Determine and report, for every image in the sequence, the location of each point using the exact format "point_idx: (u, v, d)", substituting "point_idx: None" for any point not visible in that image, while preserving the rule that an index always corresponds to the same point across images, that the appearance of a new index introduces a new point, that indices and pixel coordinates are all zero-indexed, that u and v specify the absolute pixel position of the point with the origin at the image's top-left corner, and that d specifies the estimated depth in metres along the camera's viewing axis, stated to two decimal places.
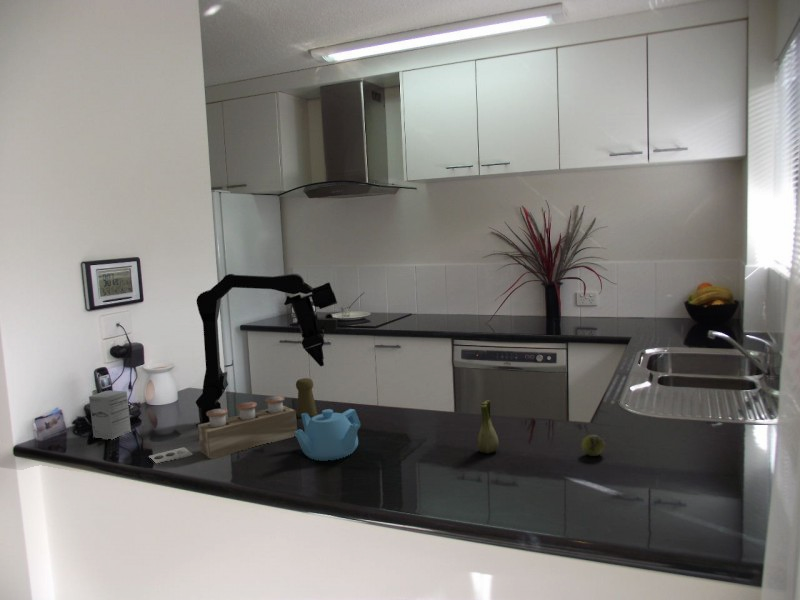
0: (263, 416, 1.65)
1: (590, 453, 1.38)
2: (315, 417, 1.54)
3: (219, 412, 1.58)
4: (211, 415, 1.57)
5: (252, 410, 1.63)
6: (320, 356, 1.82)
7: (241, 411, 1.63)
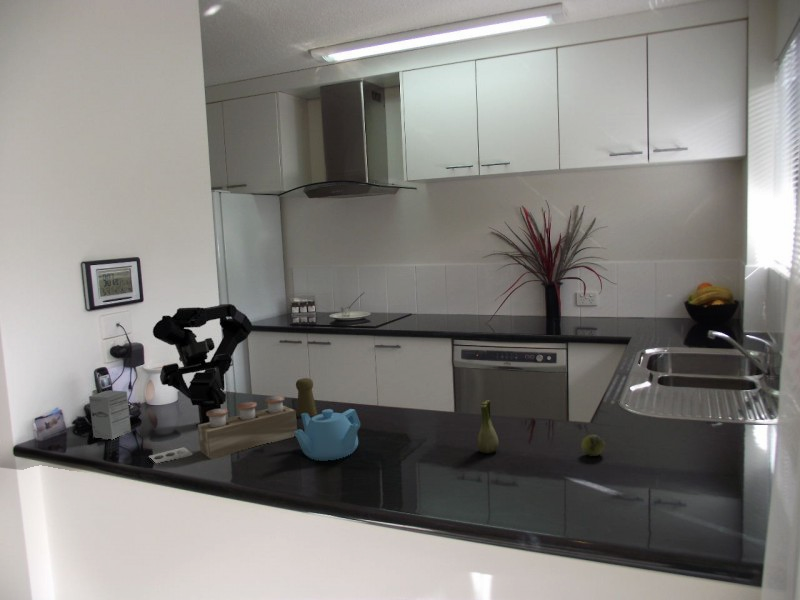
0: (263, 416, 1.65)
1: (590, 453, 1.38)
2: (315, 417, 1.54)
3: (219, 412, 1.58)
4: (211, 415, 1.57)
5: (252, 410, 1.63)
6: (182, 387, 1.64)
7: (241, 411, 1.63)
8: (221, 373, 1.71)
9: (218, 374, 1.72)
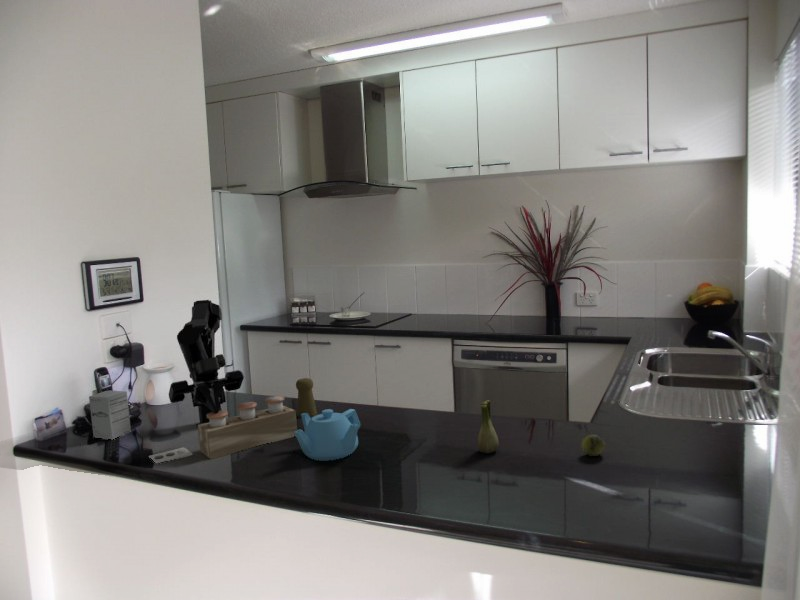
0: (263, 416, 1.65)
1: (590, 453, 1.38)
2: (315, 417, 1.54)
3: (219, 414, 1.58)
4: (211, 417, 1.57)
5: (252, 410, 1.63)
6: (208, 402, 1.60)
7: (241, 411, 1.63)
8: (216, 394, 1.62)
9: (212, 396, 1.62)
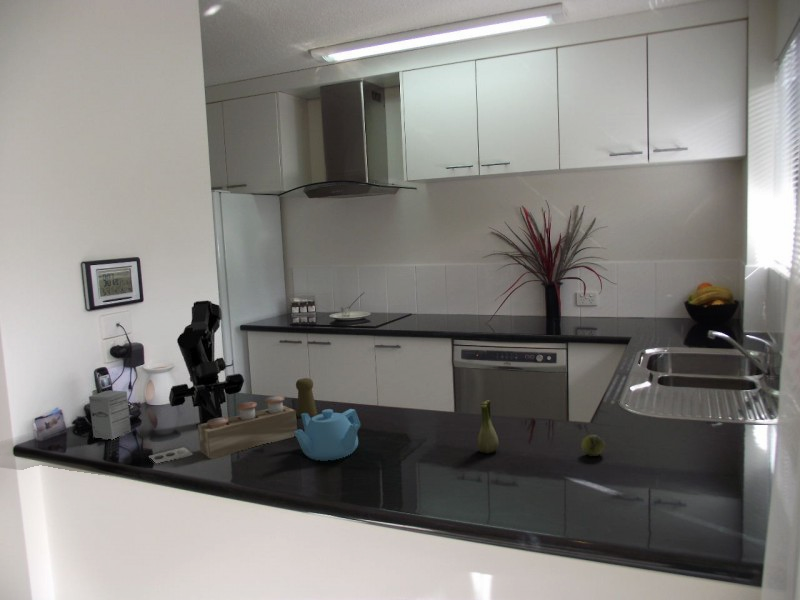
0: (263, 416, 1.65)
1: (590, 453, 1.38)
2: (315, 417, 1.54)
3: (220, 421, 1.59)
4: (212, 424, 1.57)
5: (252, 410, 1.63)
6: (209, 406, 1.60)
7: (241, 411, 1.63)
8: (216, 397, 1.62)
9: (213, 399, 1.62)
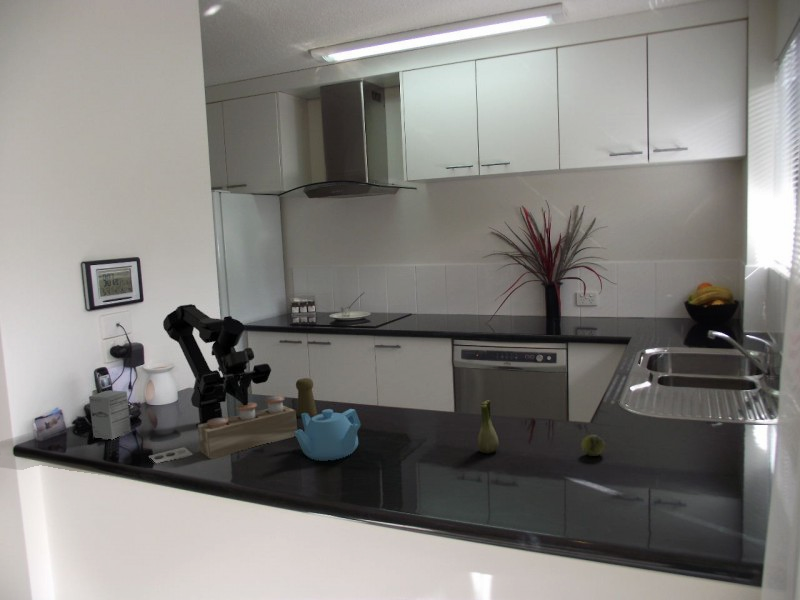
0: (263, 416, 1.65)
1: (590, 453, 1.38)
2: (315, 417, 1.54)
3: (220, 421, 1.59)
4: (212, 424, 1.57)
5: (252, 410, 1.63)
6: (238, 394, 1.65)
7: (241, 411, 1.63)
8: (245, 386, 1.66)
9: (241, 388, 1.67)
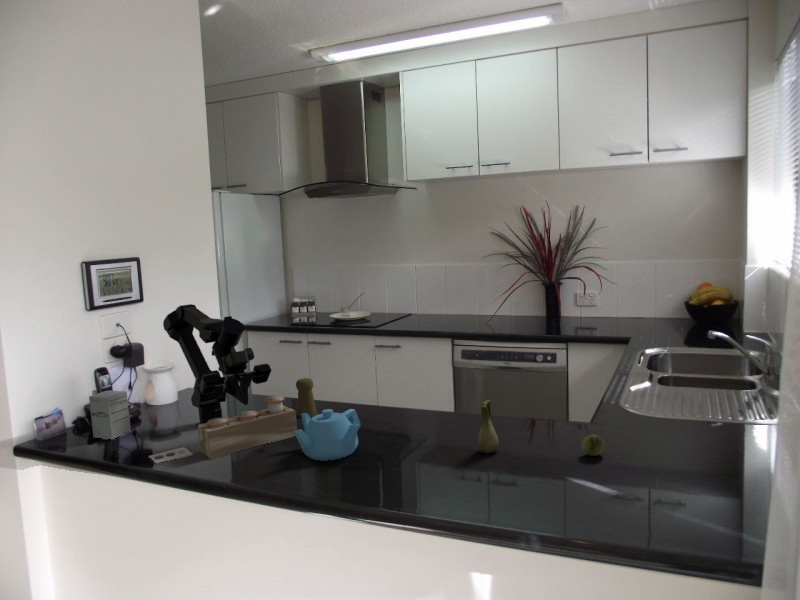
0: (263, 416, 1.65)
1: (590, 453, 1.38)
2: (315, 417, 1.54)
3: (220, 421, 1.59)
4: (212, 424, 1.57)
5: None
6: (238, 394, 1.65)
7: (242, 420, 1.63)
8: (245, 386, 1.66)
9: (242, 388, 1.67)
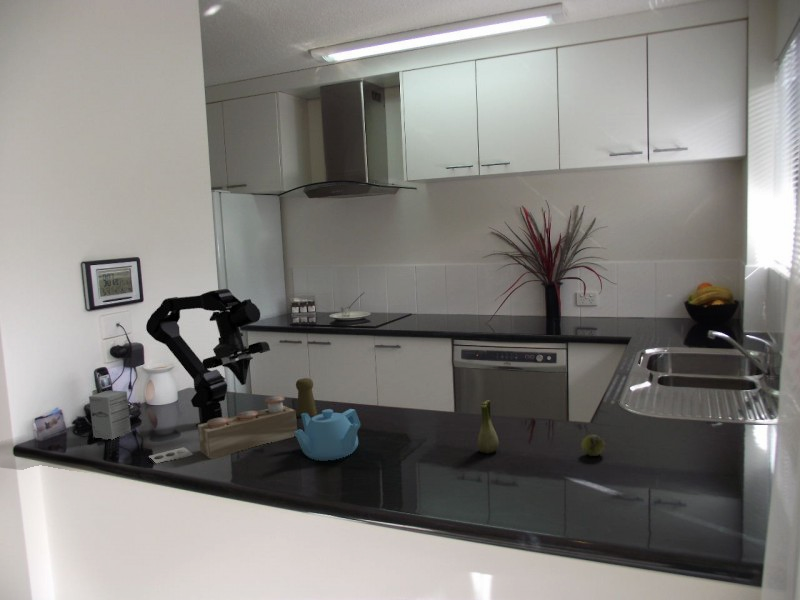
0: (263, 416, 1.65)
1: (590, 453, 1.38)
2: (315, 417, 1.54)
3: (220, 421, 1.59)
4: (212, 424, 1.57)
5: None
6: None
7: (242, 420, 1.63)
8: (240, 368, 1.76)
9: None
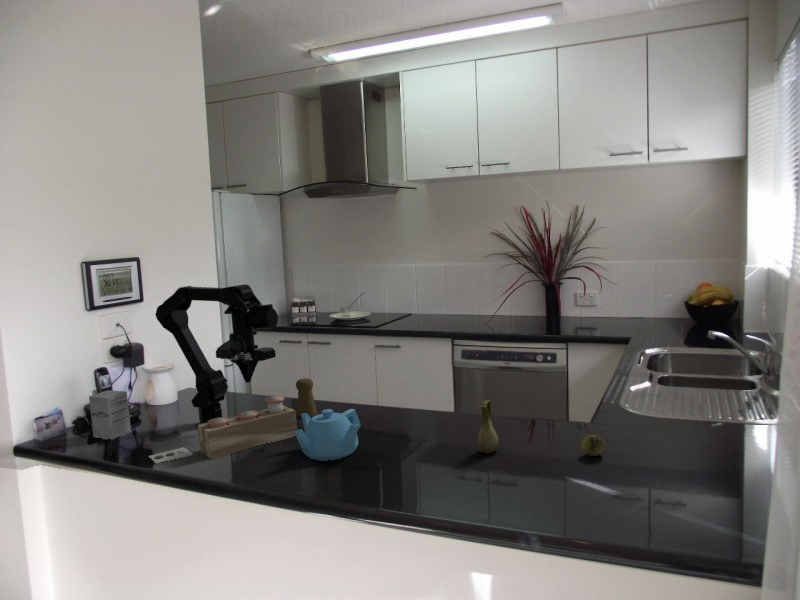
0: (263, 416, 1.65)
1: (590, 453, 1.38)
2: (315, 417, 1.54)
3: (220, 421, 1.59)
4: (212, 424, 1.57)
5: None
6: None
7: (242, 420, 1.63)
8: (245, 367, 1.77)
9: None
